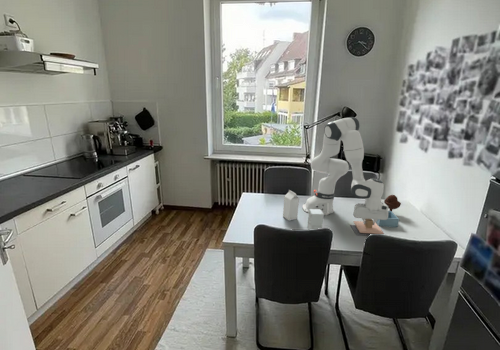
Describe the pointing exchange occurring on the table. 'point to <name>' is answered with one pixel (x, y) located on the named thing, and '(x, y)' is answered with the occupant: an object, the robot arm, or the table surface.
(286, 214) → the milk carton
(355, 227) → the mat
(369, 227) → the lid
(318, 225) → the supplement box
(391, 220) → the dish
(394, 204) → the brown toy tree
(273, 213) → the table surface
